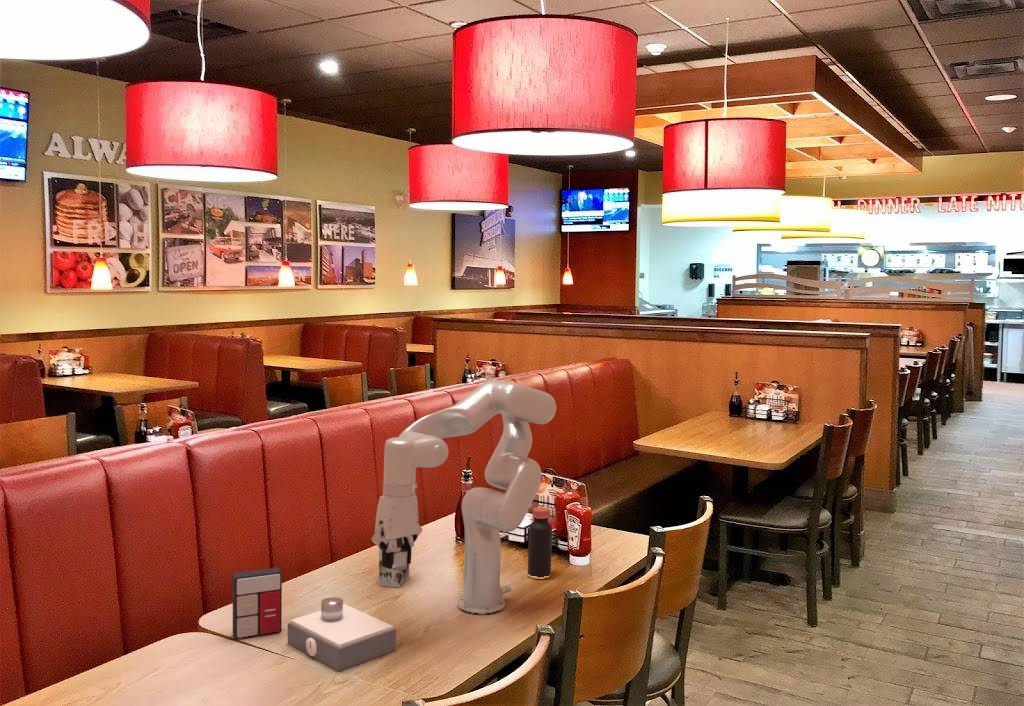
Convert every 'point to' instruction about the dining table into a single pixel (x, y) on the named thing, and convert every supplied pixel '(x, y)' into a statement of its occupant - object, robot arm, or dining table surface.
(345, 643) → the scale
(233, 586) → the grey red panel
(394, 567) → the cylinder
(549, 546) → the bottle
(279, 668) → the dining table surface
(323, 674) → the dining table surface
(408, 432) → the robot arm
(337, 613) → the cylinder
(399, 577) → the coffee box
